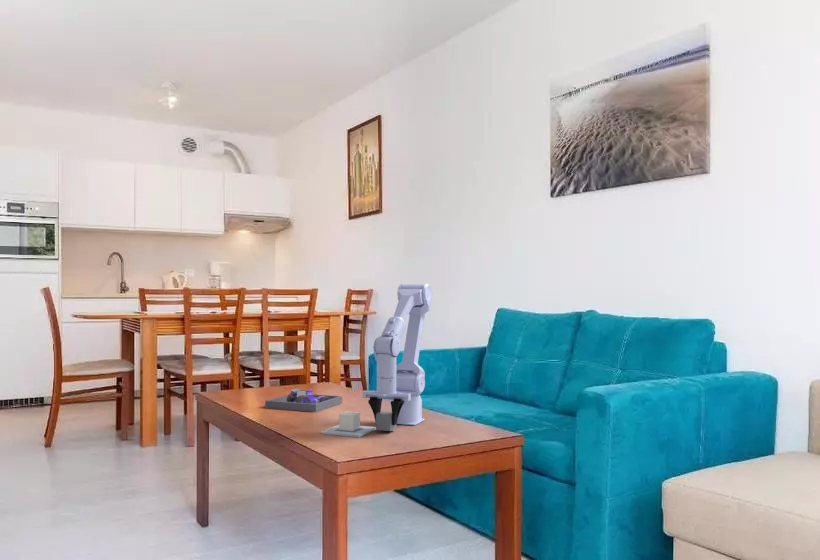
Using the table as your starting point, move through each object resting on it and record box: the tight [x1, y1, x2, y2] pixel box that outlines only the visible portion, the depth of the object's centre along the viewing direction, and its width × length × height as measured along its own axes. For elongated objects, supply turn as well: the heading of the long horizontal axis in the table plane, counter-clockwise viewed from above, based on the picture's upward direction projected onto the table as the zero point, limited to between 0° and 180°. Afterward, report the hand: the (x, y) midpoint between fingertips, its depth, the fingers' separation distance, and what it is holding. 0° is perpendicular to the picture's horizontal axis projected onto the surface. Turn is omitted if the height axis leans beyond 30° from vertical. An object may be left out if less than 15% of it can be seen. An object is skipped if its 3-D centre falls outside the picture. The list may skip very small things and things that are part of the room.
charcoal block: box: [375, 410, 397, 432], centre depth 192 cm, size 5×5×5 cm
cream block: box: [338, 410, 361, 431], centre depth 192 cm, size 5×5×5 cm
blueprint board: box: [320, 424, 377, 438], centre depth 192 cm, size 12×12×1 cm
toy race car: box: [287, 387, 329, 404], centre depth 236 cm, size 10×15×6 cm, turn 126°
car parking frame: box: [264, 393, 343, 413], centre depth 235 cm, size 20×20×2 cm
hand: (386, 423), depth 192 cm, fingers closed on charcoal block, 5 cm apart
